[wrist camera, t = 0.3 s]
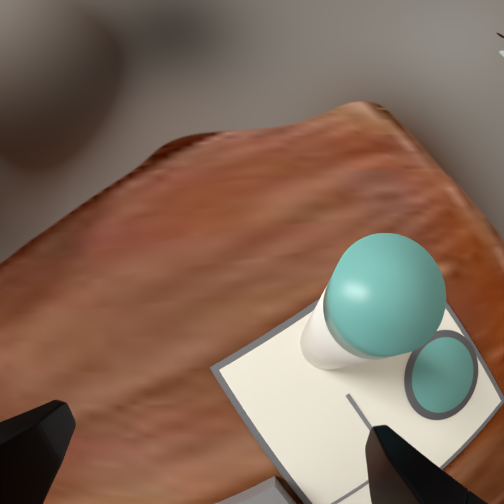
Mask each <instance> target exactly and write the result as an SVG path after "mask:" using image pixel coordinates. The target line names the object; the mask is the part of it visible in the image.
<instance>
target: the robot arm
mask: <svg viewBox="0 0 504 504" xmlns="http://www.w3.org/2000/svg"><path fill="white" fill-rule="evenodd" d="M74 429H75V419H74V417H73V415H72V413H71V410H70V408H69V406H68V404H67V403H66V402H63V401H60V400H53V401H51V402H49V403H46V404H44V405H42V406H39V407H37V408H34V409H32V410H30V411H27V412H25V413H22V414H20V415H17V416H15V417H12V418H10V419H7V420H5V421H2V422H0V504H43V502H44V500H45V498H46V496H47V494H48V491H49V489H50V487H51V485H52V483H53V481H54V479H55V476H56V474H57V472H58V470H59V468H60V466H61V464H62V462H63V459H64V456H65V453H66V451H67V448H68V445H69V442H70V440H71V437H72V434H73V432H74ZM365 455H366V463H367V472H368V481H369V490H370V497H371V502H372V504H488V503H486V502H485V501H483V500H482V499H480V498H479V497H478V496H476V495H475V494H473V493H472V492H471V491H468V489H467V488H465V487H464V486H463V485H461V484H460V483H459V482H457V481H456V480H455V479H453V478H452V477H451V476H450V475H448V474H447V473H446V472H444V471H443V470H442V469H441V468H439V467H438V466H437V465H436V464H434V463H433V462H432V461H430V460H429V459H428V458H427V457H425V456H424V455H423V454H422V453H420V452H419V451H418V450H417V449H416V448H414V447H413V446H412V445H411V444H409V443H408V442H407V441H406V440H404V439H403V438H402V437H401V436H400V435H398V434H397V433H396V432H395V431H394V430H392V429H391V428H390V427H389V426H387V425H378V426H373V427H372V428H371V429H370V432H369V436H368V439H367V442H366V446H365Z"/></svg>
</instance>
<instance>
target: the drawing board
mask: <svg viewBox="0 0 504 504" xmlns="http://www.w3.org/2000/svg"><path fill="white" fill-rule="evenodd" d="M319 300H320V298H319V299H318V300H316V301H315V302H314V303H312V304H311V305H309V306H308V307H306V308H305V309H303V310H302V311H300V312H299V313H297V314H296V315H294V316H293V317H291V318H289V319H288V320H286V321H285V322H283V323H282V324H280V325H279V326H277V327H276V328H274V329H272V330H271V331H269V332H268V333H266V334H265V335H263V336H261V337H260V338H258V339H257V340H255V341H253V342H252V343H250V344H248V345H247V346H245V347H244V348H242V349H240V350H239V351H237V352H235V353H234V354H232V355H230V356H229V357H227V358H225V359H223V360H222V361H220V362H218V363H217V364H215V365H213V366H211V367H210V369H211V371H212V372H213V374H214V376H215V377H216V379H217V381H218V382H219V384H220V385H221V387H222V389H223V390H224V392H225V393H226V395H227V397H228V398H229V400H230V401H231V403H232V404H233V406H234V407H235V409H236V411H237V412H238V414H239V415H240V417H241V418H242V420H243V421H244V423H245V424H246V426H247V427H248V429H249V430H250V431H251V433H252V434H253V436H254V437H255V439H256V440H257V442H258V443H259V444H260V446H261V447H262V449H263V450H264V452H265V453H266V454H267V456H268V457H269V458H270V460H271V461H272V463H273V464H274V465H275V467H276V468H277V469H278V471H279V472H280V473H281V475H282V476H283V477H284V479H285V480H286V481H287V483H288V484H289V485H290V486H291V488H292V489H293V490H294V492H295V493H296V494H297V495H298V497H299V498H300V499H301V500H302V502H303V503H304V504H372V502H371V497H370V490H369V481H368V472H367V463H366V455H365V446H366V442H367V439H368V436H369V432H370V429H371V428H372V427H373V426H378V425H387V426H389V427H390V428H391V429H392V430H394V431H395V432H396V433H397V434H398V435H400V436H401V437H402V438H403V439H404V440H406V441H407V442H408V443H409V444H411V445H412V446H413V447H414V448H416V449H417V450H418V451H419V452H420V453H422V454H423V455H424V456H425V457H427V458H428V459H429V460H430V461H432V462H433V463H434V464H436V465H437V466H438V467H439V468H441V469H442V470H443V469H444V468H445V467H446V466H447V465H448V464H449V463H450V462H451V461H452V460H453V459H454V458H455V457H456V456H457V455H458V454H459V453H460V452H461V451H462V450H463V449H464V448H465V447H466V446H467V445H468V444H469V443H470V442H471V441H472V440H473V439H474V438H475V437H476V436H477V434H478V433H479V432H480V431H481V430H482V429H483V428H484V427H485V425H486V424H487V423H488V422H489V421H490V419H491V418H492V417H493V416H494V415H495V413H496V412H497V411H498V410H499V408H500V407H501V406H502V405H503V403H504V396H503V394H502V393H501V391H500V389H499V387H498V385H497V383H496V381H495V379H494V378H493V376H492V374H491V372H490V370H489V369H488V367H487V365H486V363H485V362H484V360H483V358H482V356H481V355H480V353H479V351H478V350H477V348H476V346H475V345H474V343H473V341H472V340H471V338H470V337H469V335H468V333H467V332H466V330H465V329H464V327H463V326H462V324H461V322H460V321H459V319H458V318H457V316H456V315H455V313H454V312H453V310H452V309H451V307H450V306H449V305H448V303H447V302H446V307H445V312H444V316H443V319H442V322H441V324H440V326H439V328H438V329H437V331H436V332H435V334H434V335H433V336H432V337H431V339H430V340H429V341H428V342H426V343H425V344H424V345H423V346H421V347H419V348H418V349H416V350H414V351H411V352H408V353H405V354H401V355H397V356H393V357H388V358H384V359H380V360H376V361H371V362H366V363H362V364H357V365H352V366H347V367H342V368H336V369H331V370H323V369H319V368H316V367H314V366H312V365H311V364H310V363H308V362H307V360H306V359H305V358H304V356H303V354H302V352H301V348H300V337H301V334H302V331H303V329H304V327H305V326H306V324H307V322H308V320H309V318H310V316H311V315H312V313H313V311H314V309H315V307H316V305H317V303H318V302H319Z"/></svg>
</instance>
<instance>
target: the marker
mask: <svg viewBox="0 0 504 504" xmlns="http://www.w3.org/2000/svg"><path fill="white" fill-rule="evenodd" d="M445 307H446V289H445V284H444V280H443V276H442V274H441V271H440V269H439V267H438V265H437V264H436V262H435V261H434V259H433V258H432V256H431V255H430V254H429V253H428V252H427V251H426V250H425V249H424V248H423V247H422V246H420V245H419V244H418V243H416V242H415V241H413V240H411V239H409V238H407V237H404V236H401V235H398V234H392V233H379V234H373V235H369V236H367V237H364V238H362V239H360V240H358V241H357V242H355V243H354V244H353V245H352V246H350V247H349V248H348V249H347V251H346V252H345V253H344V254H343V256H342V257H341V259H340V261H339V263H338V265H337V267H336V269H335V271H334V273H333V275H332V277H331V279H330V280H329V282H328V284H327V286H326V288H325V290H324V292H323V294H322V296H321V298H320V300H319V302H318V303H317V305H316V307H315V309H314V311H313V313H312V315H311V316H310V318H309V320H308V322H307V324H306V326H305V327H304V329H303V331H302V334H301V337H300V348H301V352H302V354H303V356H304V358H305V359H306V360H307V362H308V363H310V364H311V365H312V366H314V367H316V368H319V369H323V370H331V369H336V368H342V367H347V366H352V365H357V364H362V363H366V362H371V361H376V360H380V359H384V358H388V357H393V356H397V355H401V354H405V353H408V352H411V351H414V350H416V349H418V348H419V347H421V346H423V345H424V344H425V343H426V342H428V341H429V340H430V339H431V337H432V336H433V335H434V334H435V332H436V331H437V329H438V328H439V326H440V324H441V322H442V319H443V316H444V312H445Z"/></svg>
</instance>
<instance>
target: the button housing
mask: <svg viewBox="0 0 504 504" xmlns="http://www.w3.org/2000/svg"><path fill="white" fill-rule="evenodd" d="M215 504H297V503H296V502H295V501H294V500H293V498H292V497H291V496H290V495H289V493H288V492H287V491H286V490H285V488H284V487H283V486H282V484H281V483H280V482H279V480H278V479H277V478H276V477H275V476H273V477H272V478H270V479H268V480H266V481H264V482H262V483H260V484H258V485H256V486H254V487H251V488H249V489H247V490H245V491H243V492H241V493H238V494H236V495H234V496H232V497H229V498H227V499H225V500H222V501H220V502H217V503H215Z"/></svg>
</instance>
